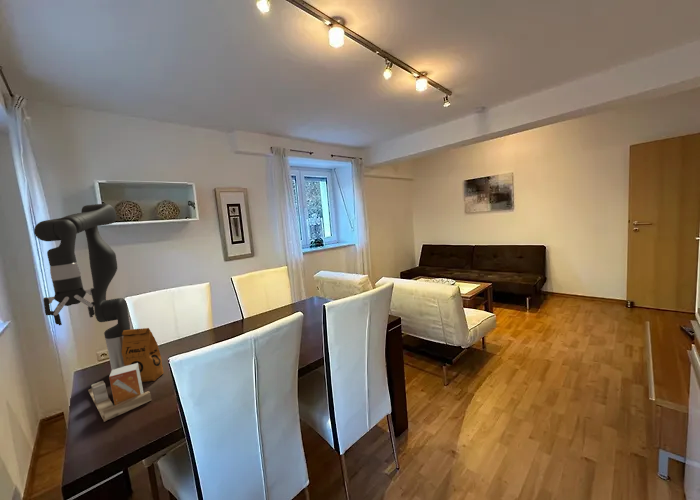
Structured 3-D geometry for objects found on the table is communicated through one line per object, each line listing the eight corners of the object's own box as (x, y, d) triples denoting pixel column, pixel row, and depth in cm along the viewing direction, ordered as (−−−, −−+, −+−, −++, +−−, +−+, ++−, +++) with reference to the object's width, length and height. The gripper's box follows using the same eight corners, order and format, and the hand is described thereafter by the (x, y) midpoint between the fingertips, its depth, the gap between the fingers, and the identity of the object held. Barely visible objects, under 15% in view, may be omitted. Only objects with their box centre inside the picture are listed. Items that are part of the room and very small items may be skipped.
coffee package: (153, 384, 125) (143, 332, 122) (124, 386, 126) (113, 334, 123) (168, 371, 135) (159, 323, 132) (141, 373, 136) (132, 325, 133)
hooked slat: (88, 392, 123) (85, 375, 122) (130, 375, 133) (127, 360, 132) (104, 421, 103) (100, 402, 102) (151, 400, 113) (148, 382, 112)
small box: (115, 411, 109) (108, 376, 107) (118, 402, 114) (111, 369, 113) (142, 402, 113) (136, 369, 111) (144, 394, 118) (138, 362, 117)
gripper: (90, 271, 117) (99, 313, 119) (37, 280, 106) (47, 325, 108) (94, 273, 112) (102, 316, 114) (38, 282, 101) (49, 329, 103)
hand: (76, 320), depth 111 cm, fingers open, 8 cm apart
